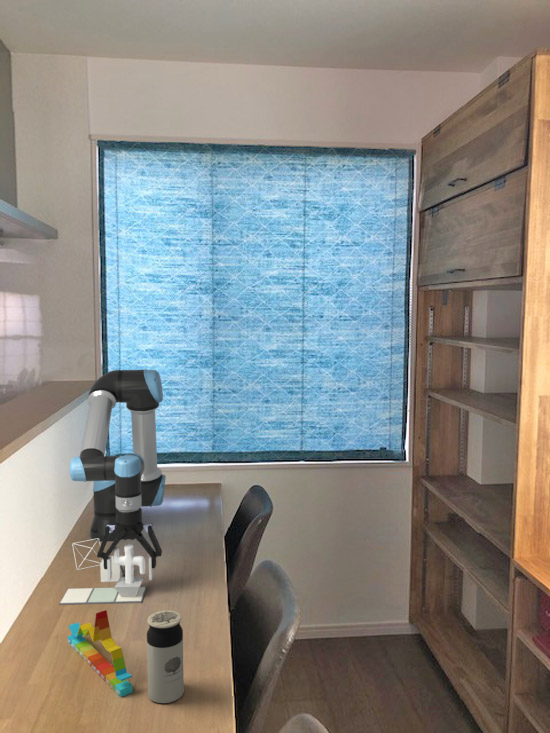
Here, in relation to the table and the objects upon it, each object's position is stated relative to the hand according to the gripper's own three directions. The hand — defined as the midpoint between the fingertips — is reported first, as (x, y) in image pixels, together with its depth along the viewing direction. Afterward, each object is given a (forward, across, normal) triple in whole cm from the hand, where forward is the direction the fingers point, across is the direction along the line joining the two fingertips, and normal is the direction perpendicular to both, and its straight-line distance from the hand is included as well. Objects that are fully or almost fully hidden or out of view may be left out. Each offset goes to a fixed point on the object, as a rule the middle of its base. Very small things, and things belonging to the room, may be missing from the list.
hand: (130, 578), depth 196 cm
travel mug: (+5, +16, -50) cm, 53 cm away
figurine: (+5, 0, 0) cm, 5 cm away
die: (+5, -8, +13) cm, 16 cm away
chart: (+6, -2, -38) cm, 38 cm away
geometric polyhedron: (+5, -18, +24) cm, 30 cm away
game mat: (+5, -8, 0) cm, 10 cm away
